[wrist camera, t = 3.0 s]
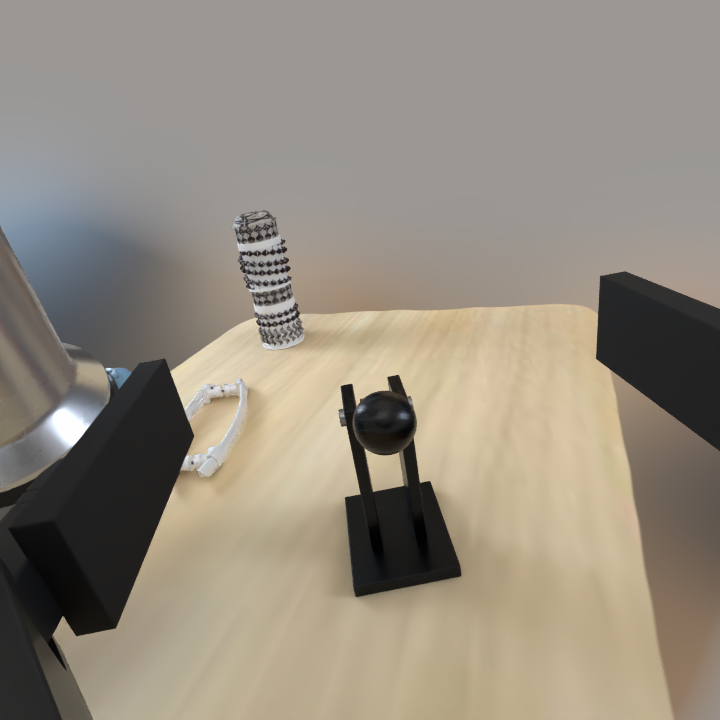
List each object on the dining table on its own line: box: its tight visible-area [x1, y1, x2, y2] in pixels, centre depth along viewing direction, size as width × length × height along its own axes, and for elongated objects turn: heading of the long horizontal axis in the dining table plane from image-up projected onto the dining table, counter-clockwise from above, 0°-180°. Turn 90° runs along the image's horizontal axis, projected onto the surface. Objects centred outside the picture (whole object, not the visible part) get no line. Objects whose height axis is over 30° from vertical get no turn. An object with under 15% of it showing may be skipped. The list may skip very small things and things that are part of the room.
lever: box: [353, 391, 417, 455], centre depth 33 cm, size 15×4×4 cm, turn 5°
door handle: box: [180, 378, 248, 478], centre depth 67 cm, size 3×10×25 cm
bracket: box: [338, 375, 461, 597], centre depth 41 cm, size 11×9×16 cm
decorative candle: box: [232, 211, 305, 350], centre depth 90 cm, size 9×9×25 cm
